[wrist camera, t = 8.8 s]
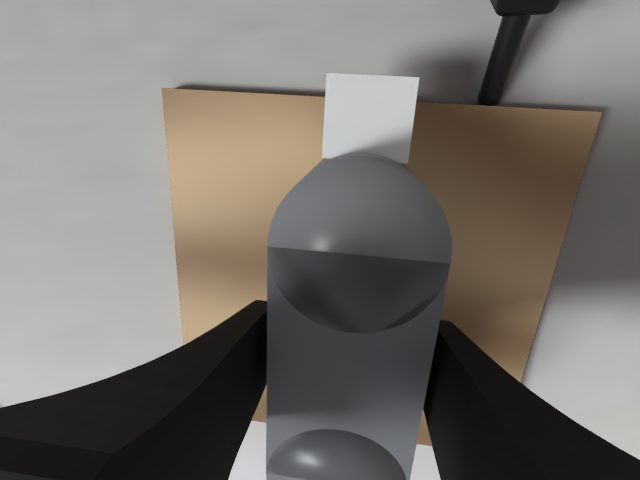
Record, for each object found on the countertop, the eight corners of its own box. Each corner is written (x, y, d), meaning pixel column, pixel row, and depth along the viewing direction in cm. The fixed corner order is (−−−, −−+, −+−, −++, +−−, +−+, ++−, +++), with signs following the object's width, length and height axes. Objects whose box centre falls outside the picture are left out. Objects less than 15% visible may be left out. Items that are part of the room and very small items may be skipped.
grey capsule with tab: (386, 411, 15) (397, 542, 10) (295, 399, 16) (266, 520, 11) (434, 89, 11) (488, 66, 6) (307, 83, 11) (268, 57, 7)
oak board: (493, 443, 16) (498, 455, 15) (195, 401, 17) (189, 411, 16) (590, 112, 11) (602, 111, 11) (171, 89, 12) (161, 88, 12)
